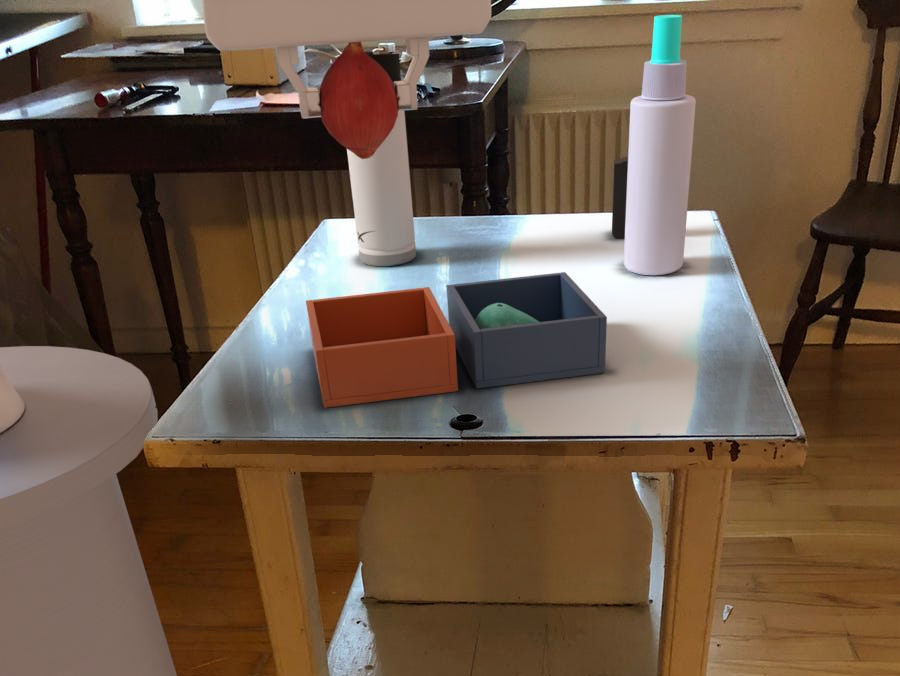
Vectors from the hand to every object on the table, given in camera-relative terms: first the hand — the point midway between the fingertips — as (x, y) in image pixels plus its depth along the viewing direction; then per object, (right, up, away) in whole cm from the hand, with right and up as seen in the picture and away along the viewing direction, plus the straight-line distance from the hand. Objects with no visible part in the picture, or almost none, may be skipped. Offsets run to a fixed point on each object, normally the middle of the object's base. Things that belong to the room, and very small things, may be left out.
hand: (358, 113), depth 73 cm
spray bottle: (+27, -1, +28) cm, 39 cm away
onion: (0, -3, +2) cm, 3 cm away
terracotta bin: (+1, -17, +9) cm, 19 cm away
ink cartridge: (+26, +6, +38) cm, 47 cm away
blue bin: (+13, -15, +11) cm, 22 cm away
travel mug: (-1, +3, +35) cm, 35 cm away
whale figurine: (+12, -15, +10) cm, 22 cm away
